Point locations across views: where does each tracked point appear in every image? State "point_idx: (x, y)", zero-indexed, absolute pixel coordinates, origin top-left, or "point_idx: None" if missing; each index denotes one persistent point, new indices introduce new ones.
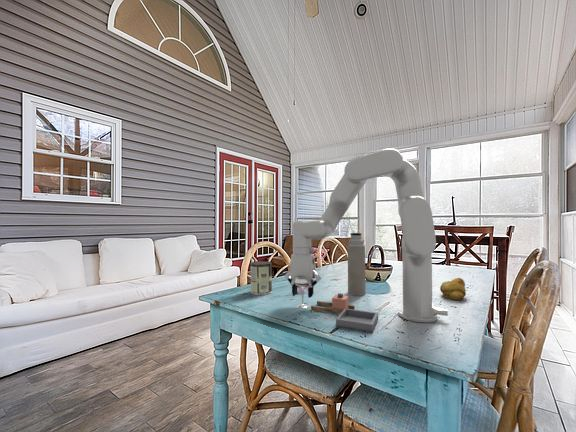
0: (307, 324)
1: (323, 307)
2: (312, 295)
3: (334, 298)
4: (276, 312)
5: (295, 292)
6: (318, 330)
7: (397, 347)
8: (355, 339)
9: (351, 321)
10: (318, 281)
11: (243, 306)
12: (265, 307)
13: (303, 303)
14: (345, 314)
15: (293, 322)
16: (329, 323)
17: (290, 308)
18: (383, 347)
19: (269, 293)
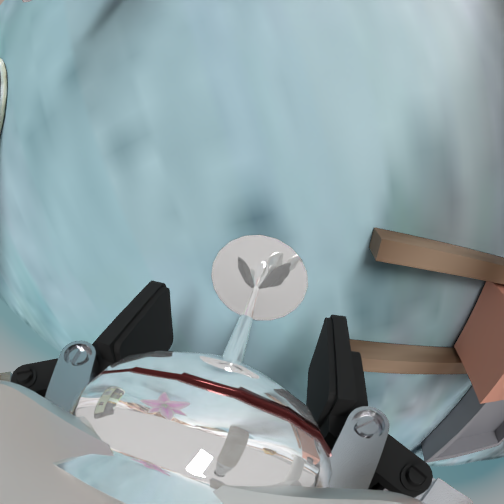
0: None
1: (415, 368)
2: (345, 317)
3: (490, 401)
4: None
5: (161, 339)
6: None
7: (494, 449)
8: (441, 461)
9: (461, 455)
10: (440, 480)
11: (36, 324)
12: (91, 333)
13: (260, 285)
14: None
15: None
16: (408, 434)
17: (200, 340)
18: (473, 458)
19: (4, 110)
